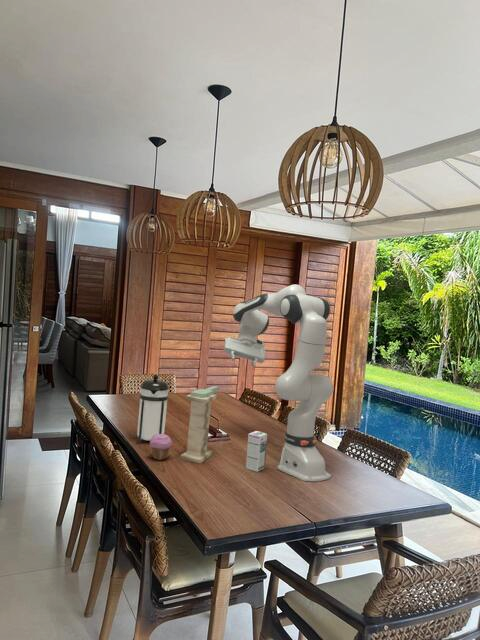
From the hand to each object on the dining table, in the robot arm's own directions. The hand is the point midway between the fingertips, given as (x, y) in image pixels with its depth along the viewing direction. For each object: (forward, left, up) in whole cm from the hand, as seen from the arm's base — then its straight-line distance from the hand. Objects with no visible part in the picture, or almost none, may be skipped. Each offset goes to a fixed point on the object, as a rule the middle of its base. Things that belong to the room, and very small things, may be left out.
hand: (243, 362), depth 225 cm
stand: (-13, +26, -38) cm, 48 cm away
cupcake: (-10, +42, -38) cm, 58 cm away
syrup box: (-32, +9, -38) cm, 50 cm away
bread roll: (-10, -33, -38) cm, 51 cm away
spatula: (-9, +22, -12) cm, 27 cm away
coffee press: (+14, +37, -38) cm, 55 cm away
